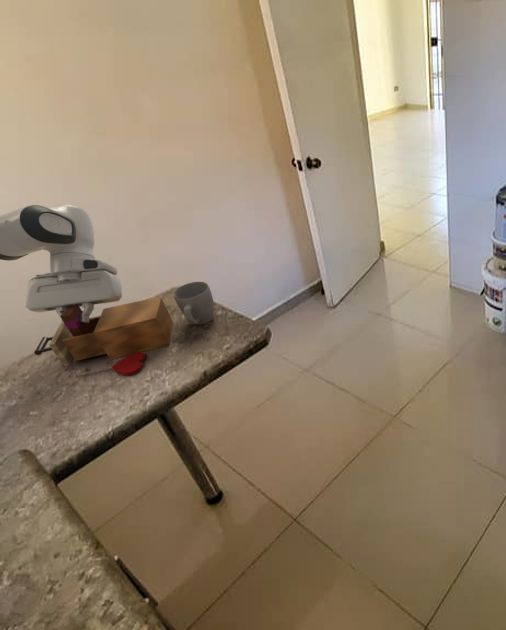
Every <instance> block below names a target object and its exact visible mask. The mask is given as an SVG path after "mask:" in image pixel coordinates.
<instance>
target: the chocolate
mask: <svg viewBox="0 0 506 630" xmlns="http://www.w3.org/2000/svg"><path fill="white" fill-rule="evenodd" d="M83 311H84V310H82V308H81V307H79V305H74V306H69V307H68V308H67V309H66V310H65V311H64V312H63V313H62V315H61V316H59V317H60V319H61V321H62V320H63V322H64V324H65V326H66V327H67V329H69V331H70V332H71V334H72V335H73V337H75V336H79V335H84V334H88V333H93V332H94V329H93V328H92V326H91V325H90V323H83V324H82V323H79V322H78V320H79V319H78V316H79V315H82V313H83Z"/></svg>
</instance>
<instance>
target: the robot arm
mask: <svg viewBox="0 0 506 630" xmlns="http://www.w3.org/2000/svg"><path fill="white" fill-rule="evenodd" d="M94 246H95V232H94V226H93V222H92V219H91V217H90V214H89V213H88V212H87V211H86V210H85V209H83V208H82V207H79V206H77V205H73V204H67V203H61V204H60V203H59V204H56V205H54V206H43V205H40V204H32V205H26V206H23V207H20V208H18V209H15V210H11V211H10V212H7V213H5V214H2V215H0V261H1V260H2V261H8V262H9V261H16V260H19V259H21V258H23V257H26V256H28V255H31V254H33V253H36V252H38V251H42V250H43V251H47V252H49V264H50V265H49V267H50V269H49V270H50V272H47V273H42V274H39V273H38V274H35V275H33V277H31V278H30V279H29V280H28V281H27V289H26V295H25V307H26V309H27V310H29V311H30V312H35V313H46V312H51V311H52V312H53V311H55V313H57V315H58V316H59V317H60V316H61V315H62V313H63V312H64V311H65V310H66V309H67V308H68V307H69V306H74V305H79V307H80V308H81V307H82V308H81V309H83V310H82V311H83V313H82V315H79V316H78V319H79V320H78V322H79V323H82V324H83V323H89V318H90V316H91V315H92V313H93V311H94V310H95V305H101V304H108V303H114V302H115V303H116V302H120V300H121V299H122V297H123V289H122V283H121V280H120V278H119V276H117V275H118V268H117V267H116V266H114V265H113V264H110V263H108V262H106V261H103V260H100V259H96V256H95V254H94ZM61 322H62V325H64V326H65V324H64V322H63V320H62V319H61Z"/></svg>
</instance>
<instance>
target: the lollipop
mask: <svg viewBox="0 0 506 630" xmlns="http://www.w3.org/2000/svg"><path fill="white" fill-rule="evenodd" d="M146 359H147V354H146V353H145V352H144V351H143V352H137V353H133V354H131V355H127V356H124V357H122V358H121V359H120V360H118V361H117V362H115V363H114V364H113V365H112V366H110V367H106V368H101V369H96V370H91V371H86V372H81V373H76V374H75V375H74V376H75V377H79V376H83V375H89V374H92V373H97V372H98V373H99V372H101V371H107V370H112V371H113V372H115V373H116V374H118V375H119V376H120V375H121V376H131V375H135V374H137V373H138V372H140V371H141V370H142V368H143V366H144V364H143V362H144V361H145V360H146Z"/></svg>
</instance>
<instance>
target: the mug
mask: <svg viewBox="0 0 506 630" xmlns="http://www.w3.org/2000/svg"><path fill="white" fill-rule="evenodd" d="M173 299H174V302H175V303H176V305H177V306H178V309H179V310H180V311H181V313H182V314H183V315H184V317H185V320H187V322H188V323H189V324H190V325H195V326H202V324H203V325H205V323H206V324H208V323H210V322H211V321H212V320H213V319H214V311H215V303H214V297H213V293H212V291H211V288H210V286H209V284H208V283H207V282H205V281H192V282H188V283H186V284H182V285H181V286H179V287H178V288H176V289H175V290H174V292H173ZM212 318H213V319H212ZM211 319H212V320H211ZM210 320H211V321H210ZM209 321H210V322H209ZM207 322H208V323H207Z"/></svg>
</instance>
